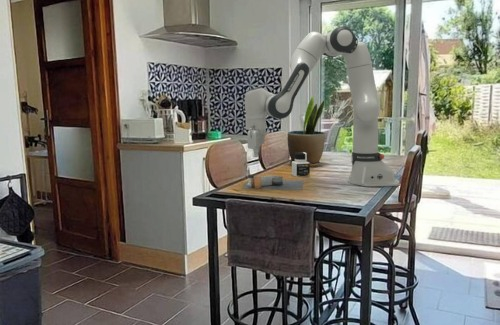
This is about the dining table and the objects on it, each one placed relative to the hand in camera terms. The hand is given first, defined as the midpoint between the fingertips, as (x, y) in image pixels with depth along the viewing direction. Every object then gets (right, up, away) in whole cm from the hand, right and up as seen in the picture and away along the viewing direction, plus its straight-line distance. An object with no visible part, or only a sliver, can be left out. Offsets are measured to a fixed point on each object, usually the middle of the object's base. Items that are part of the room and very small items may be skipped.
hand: (256, 156), depth 189 cm
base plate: (+9, -14, +4) cm, 16 cm away
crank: (+4, -13, +1) cm, 13 cm away
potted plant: (+30, -5, +59) cm, 66 cm away
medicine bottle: (+23, -10, +28) cm, 38 cm away
